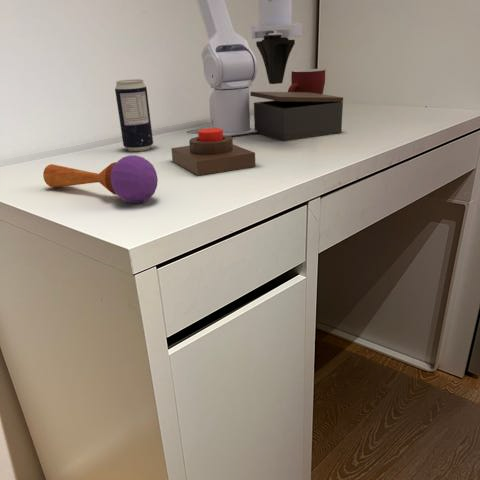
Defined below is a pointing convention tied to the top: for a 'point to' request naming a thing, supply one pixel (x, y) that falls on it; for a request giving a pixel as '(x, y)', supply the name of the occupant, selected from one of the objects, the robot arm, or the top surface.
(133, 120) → the beverage can
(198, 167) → the panel
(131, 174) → the purple maraca
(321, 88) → the mug
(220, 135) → the button
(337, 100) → the brown box lid
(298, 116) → the dark gray box
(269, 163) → the top surface
